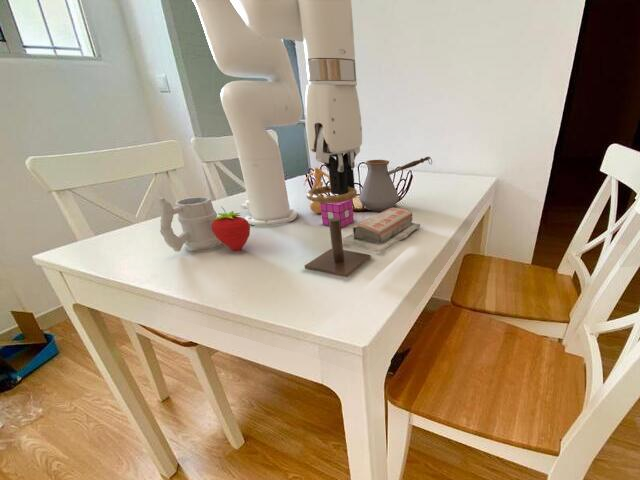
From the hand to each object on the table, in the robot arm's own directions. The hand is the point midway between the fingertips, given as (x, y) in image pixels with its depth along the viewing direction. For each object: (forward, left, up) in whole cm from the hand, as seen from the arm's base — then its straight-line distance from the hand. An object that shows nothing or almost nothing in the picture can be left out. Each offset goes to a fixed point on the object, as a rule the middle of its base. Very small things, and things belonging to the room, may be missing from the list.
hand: (343, 192), depth 62 cm
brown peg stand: (0, -3, -13) cm, 14 cm away
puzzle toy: (-14, +18, -14) cm, 26 cm away
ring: (0, -3, 0) cm, 3 cm away
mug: (-32, -8, -14) cm, 36 cm away
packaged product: (+1, +14, -14) cm, 19 cm away
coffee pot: (-6, +35, -14) cm, 38 cm away
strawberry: (-23, -6, -14) cm, 28 cm away
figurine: (-24, +24, -14) cm, 36 cm away
